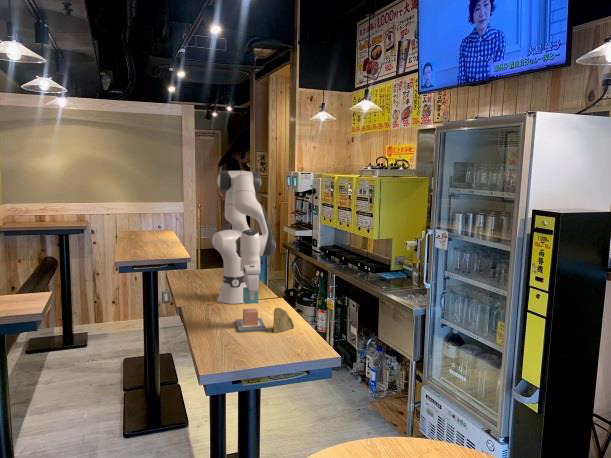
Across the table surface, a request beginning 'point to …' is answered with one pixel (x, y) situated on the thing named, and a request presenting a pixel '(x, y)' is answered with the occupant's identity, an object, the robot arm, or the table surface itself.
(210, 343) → the table surface
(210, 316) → the table surface
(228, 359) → the table surface
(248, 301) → the teal block
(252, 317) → the terracotta block
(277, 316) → the rock
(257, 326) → the grey flat plate
